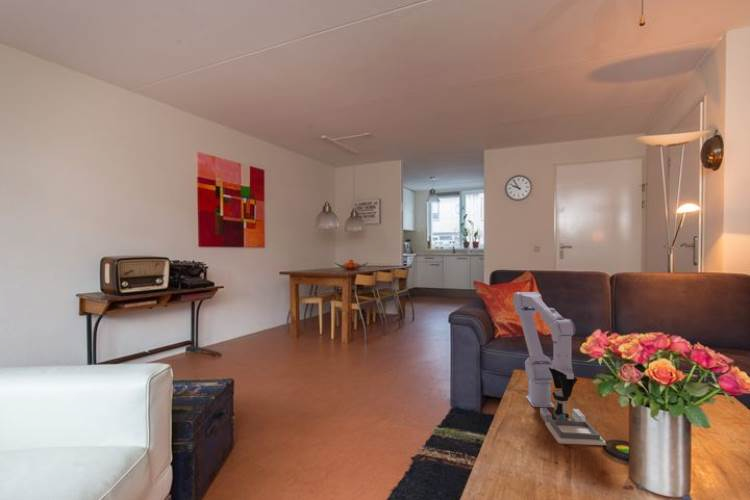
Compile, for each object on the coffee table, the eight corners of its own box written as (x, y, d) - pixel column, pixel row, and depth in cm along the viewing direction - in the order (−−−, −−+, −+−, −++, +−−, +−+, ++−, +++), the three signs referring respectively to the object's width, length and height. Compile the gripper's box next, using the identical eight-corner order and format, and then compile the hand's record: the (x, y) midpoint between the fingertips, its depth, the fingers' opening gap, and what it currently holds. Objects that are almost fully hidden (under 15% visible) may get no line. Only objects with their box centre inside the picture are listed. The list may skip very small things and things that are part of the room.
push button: (575, 423, 133) (575, 394, 132) (564, 426, 131) (564, 397, 130) (560, 415, 139) (560, 387, 139) (549, 417, 137) (549, 390, 137)
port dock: (545, 425, 131) (545, 417, 131) (588, 426, 130) (588, 419, 130) (558, 443, 120) (558, 435, 119) (605, 445, 118) (605, 437, 118)
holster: (540, 415, 138) (540, 407, 138) (578, 417, 137) (578, 408, 137) (546, 423, 132) (546, 415, 132) (585, 425, 131) (585, 416, 131)
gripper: (543, 348, 142) (543, 384, 142) (558, 360, 127) (558, 400, 128) (563, 348, 141) (563, 384, 141) (580, 360, 127) (580, 401, 127)
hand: (562, 392), depth 134 cm, fingers open, 7 cm apart
